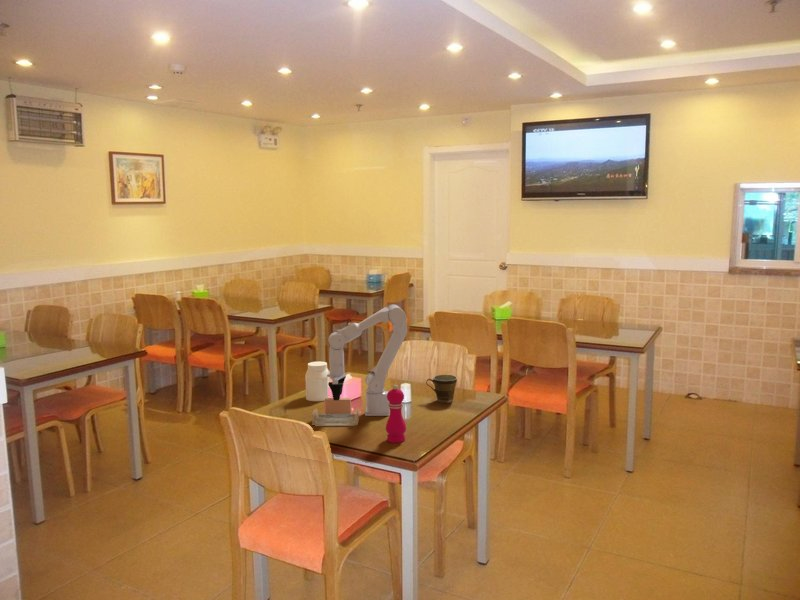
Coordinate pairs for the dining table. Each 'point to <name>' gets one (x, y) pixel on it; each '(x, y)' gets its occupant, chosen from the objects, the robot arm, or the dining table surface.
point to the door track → (335, 419)
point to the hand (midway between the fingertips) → (337, 397)
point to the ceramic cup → (444, 387)
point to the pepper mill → (395, 416)
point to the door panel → (338, 406)
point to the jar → (317, 381)
